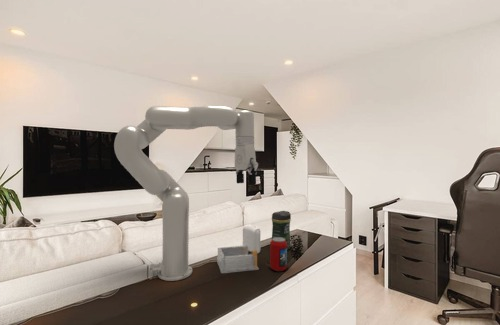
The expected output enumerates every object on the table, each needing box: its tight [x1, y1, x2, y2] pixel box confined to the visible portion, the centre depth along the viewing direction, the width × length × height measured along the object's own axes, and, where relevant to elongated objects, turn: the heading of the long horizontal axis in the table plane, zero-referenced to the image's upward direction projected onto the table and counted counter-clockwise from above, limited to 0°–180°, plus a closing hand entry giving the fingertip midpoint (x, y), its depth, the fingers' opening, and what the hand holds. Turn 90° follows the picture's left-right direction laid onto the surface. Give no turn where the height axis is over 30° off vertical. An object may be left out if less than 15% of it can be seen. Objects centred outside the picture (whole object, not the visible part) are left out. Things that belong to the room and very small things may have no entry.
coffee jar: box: [271, 210, 292, 250], centre depth 127 cm, size 10×8×19 cm
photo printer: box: [242, 224, 261, 254], centre depth 125 cm, size 10×4×12 cm, turn 39°
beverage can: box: [269, 237, 288, 272], centre depth 104 cm, size 7×7×12 cm
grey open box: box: [216, 245, 260, 274], centre depth 107 cm, size 15×14×7 cm
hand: (246, 183), depth 104 cm, fingers open, 9 cm apart
